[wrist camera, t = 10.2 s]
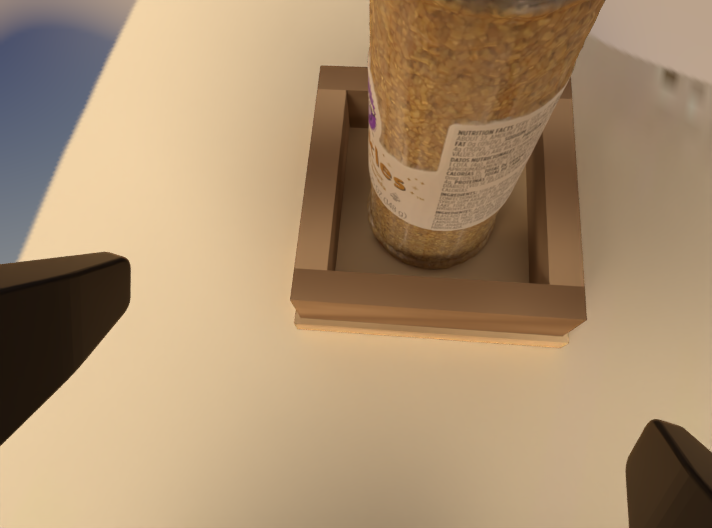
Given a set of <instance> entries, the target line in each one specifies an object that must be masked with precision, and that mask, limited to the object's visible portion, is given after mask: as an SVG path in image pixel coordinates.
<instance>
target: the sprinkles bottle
mask: <svg viewBox="0 0 712 528" xmlns="http://www.w3.org/2000/svg"><path fill="white" fill-rule="evenodd" d="M604 2H605V0H370V5H369V6H370V23H369V24H370V47H369V53H368V96H369V137H368V155H369V172H370V177H371V189H370V193H369V197H368V202H367V208H368V221H369V224H370V226H371V229H372V231H373V234H374V236H375V237H376V239H377V240H378V241H379V243H380V244H381V245H382V246H383V248H384V249H385V250H386V251H387V252H388V253H389V254H390V255H391V256H393V257H395V258H397V259H399V260H400V261H402V262H403V263H406V264H408V265H413V266H416V267H419V268H428V269H447V268H450V267H453V266H455V265H458V264H462V263H464V262H465V261H467V260H469V259H470V258H472V257H474V256H475V255H476V254H477V253H478V252H479V251H480V250H481V249H482V248H483V247H484V246H485V245H486V243H487V242H488V240H489V237H490V235H491V233H492V231H493V229H494V226H495V221H496V216H497V214H498V212H499V210H500V209H501V207H502V206H503V204H504V203H505V202H506V200H507V199H508V197H509V196H510V194H511V192H512V190H513V189H514V187H515V185H516V183H517V181H518V179H519V177H520V175H521V173H522V171H523V169H524V167H525V165H526V163H527V161H528V159H529V157H530V155H531V153H532V151H533V149H534V147H535V145H536V144H537V142H538V140H539V138H540V136H541V134H542V132H543V130H544V128H545V126H546V124H547V122H548V120H549V118H550V116H551V114H552V112H553V110H554V108H555V106H556V105H557V103H558V101H559V99H560V97H561V95H562V93H563V91H564V89H565V87H566V85H567V83H568V81H569V79H570V76H571V74H572V72H573V70H574V66H575V63H576V59H577V57H578V55H579V53H580V50H581V49H582V47H583V45H584V42H585V39H586V37H587V36H588V34H589V32H590V30H591V28H592V26H593V25H594V23H595V21H596V18H597V16H598V14H599V12H600V9H601V7H602V6H603V4H604Z"/></svg>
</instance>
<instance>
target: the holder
mask: <svg viewBox="0 0 712 528" xmlns="http://www.w3.org/2000/svg"><path fill="white" fill-rule="evenodd" d="M368 137H369V96H368V67H345V66H321V67H320V74H319V82H318V90H317V97H316V105H315V113H314V120H313V128H312V136H311V143H310V151H309V159H308V166H307V174H306V182H305V189H304V197H303V205H302V212H301V220H300V228H299V236H298V243H297V251H296V259H295V266H294V274H293V282H292V289H291V297H290V300H291V302H292V304H293V306H294V307H295V309H296V313H295V321H294V324H295V326H296V327H297V329H306V330H320V331H334V332H348V333H362V334H376V335H390V336H403V337H417V338H431V339H445V340H459V341H473V342H487V343H501V344H515V345H529V346H542V347H556V348H561V347H563V346H565V345H566V344H568V343H569V337H568V332H570V331H571V330H573V329H574V328H576V327H577V326H579V325H580V324H582V323H583V322H585V321H586V320H587V316H586V301H585V286H584V271H583V256H582V241H581V226H580V211H579V196H578V180H577V165H576V150H575V135H574V120H573V105H572V90H571V76H570V79H569V81H568V83H567V85H566V87H565V89H564V91H563V93H562V95H561V97H560V99H559V101H558V103H557V105H556V106H555V108H554V110H553V112H552V114H551V116H550V118H549V120H548V122H547V124H546V126H545V128H544V130H543V132H542V134H541V136H540V138H539V140H538V142H537V144H536V145H535V147H534V149H533V151H532V153H531V155H530V157H529V159H528V161H527V163H526V165H525V167H524V169H523V171H522V173H521V175H520V177H519V179H518V181H517V183H516V185H515V187H514V189H513V190H512V192H511V194H510V196H509V197H508V199H507V200H506V202H505V203H504V204H503V206H502V207H501V209H500V210H499V212H498V214H497V216H496V221H495V226H494V229H493V231H492V233H491V235H490V237H489V240H488V242H487V243H486V245H485V246H484V247H483V248H482V249H481V250H480V251H479V252H478V253H477V254H476V255H475V256H474V257H472V258H470V259H469V260H467V261H465V262H464V263H462V264H458V265H455V266H453V267H450V268H447V269H428V268H419V267H416V266H413V265H408V264H406V263H403V262H402V261H400V260H399V259H397V258H395V257H393V256H391V255H390V254H389V253H388V252H387V251H386V250H385V249H384V248H383V246H382V245H381V244H380V243H379V241H378V240H377V239H376V237H375V236H374V234H373V231H372V229H371V226H370V224H369V221H368V208H367V202H368V197H369V193H370V189H371V177H370V172H369V155H368Z"/></svg>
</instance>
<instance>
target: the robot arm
mask: <svg viewBox="0 0 712 528" xmlns="http://www.w3.org/2000/svg"><path fill="white" fill-rule="evenodd" d="M130 288H131V267H130V262H129V261H128V259H127V258H125V257H123V256H119V255H116V254H113V253H110V252H99V253H91V254H82V255H74V256H66V257H58V258H49V259H41V260H33V261H24V262H16V263H8V264H0V446H1V445H2V444H3V443H4V442H5V441H6V440H7V439H8V438H9V437H10V436H11V435H12V434H13V433H14V432H15V431H16V430H17V429H18V428H19V427H20V426H21V425H22V424H23V423H24V422H25V421H26V420H27V419H28V418H29V417H30V416H31V415H32V414H33V413H34V412H35V411H36V410H38V409H39V408H40V407H41V406H42V405H43V404H44V403H45V402H46V401H47V400H48V399H49V398H50V397H51V396H52V395H53V394H54V393H55V392H56V391H57V390H58V389H59V388H60V387H61V386H62V385H63V384H64V383H65V382H66V381H67V380H68V379H69V378H70V377H71V376H72V375H73V374H74V373H75V371H76V370H77V369H78V368H79V367H80V366H81V365H82V363H83V362H84V361H85V360H86V359H87V358H88V356H89V355H90V354H91V353H92V351H93V350H94V349H95V348H96V347H97V345H98V344H99V343H100V342H101V341H102V339H103V338H104V337H105V336H106V335H107V333H108V332H109V331H110V330H111V329H112V327H113V326H114V325H115V324H116V323H117V321H118V320H119V319H120V318H121V316H122V315H123V314H124V313H125V311H126V310H127V308H128V306H129V303H130ZM626 487H627V502H628V518H629V528H712V452H711V451H709V450H708V449H707V448H706V447H705V446H704V445H703V444H701V443H700V442H699V441H698V440H697V439H696V438H694V437H693V436H692V435H691V434H690V433H689V432H688V431H686V430H685V429H684V428H683V427H681V426H679V425H675V424H672V423H669V422H665V421H662V420H658V419H654V420H651V421H650V422H649V423H648V424H647V425H646V427H645V428H644V430H643V432H642V434H641V435H640V437H639V439H638V441H637V443H636V444H635V446H634V448H633V450H632V452H631V453H630V455H629V457H628V460H627V464H626Z"/></svg>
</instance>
